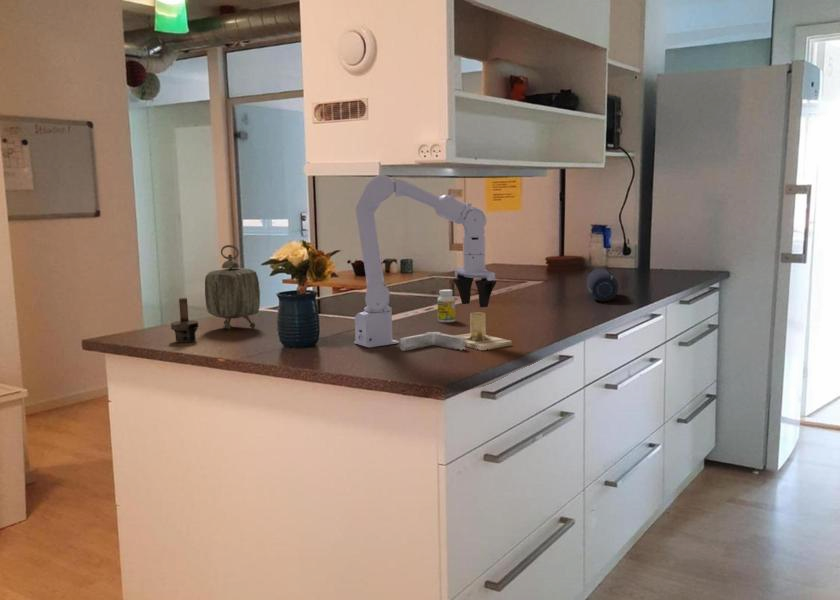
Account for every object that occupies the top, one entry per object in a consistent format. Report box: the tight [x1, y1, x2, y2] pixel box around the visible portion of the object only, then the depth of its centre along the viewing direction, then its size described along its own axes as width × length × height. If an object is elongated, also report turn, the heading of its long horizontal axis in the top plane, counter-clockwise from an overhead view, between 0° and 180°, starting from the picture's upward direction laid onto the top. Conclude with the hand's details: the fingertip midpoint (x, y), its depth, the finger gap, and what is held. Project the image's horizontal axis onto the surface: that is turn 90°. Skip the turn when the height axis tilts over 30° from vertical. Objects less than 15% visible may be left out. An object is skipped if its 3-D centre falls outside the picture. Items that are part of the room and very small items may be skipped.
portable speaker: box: [586, 267, 619, 303], centre depth 280 cm, size 25×10×10 cm, turn 171°
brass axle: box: [469, 311, 487, 342], centre depth 203 cm, size 4×4×8 cm
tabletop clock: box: [204, 244, 261, 331], centre depth 231 cm, size 14×9×25 cm, turn 59°
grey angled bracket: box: [399, 331, 466, 352], centre depth 200 cm, size 9×16×3 cm, turn 87°
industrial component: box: [170, 297, 199, 343], centre depth 214 cm, size 9×7×12 cm
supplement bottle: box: [437, 289, 456, 323], centre depth 237 cm, size 5×5×10 cm
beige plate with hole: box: [455, 332, 513, 351], centre depth 203 cm, size 15×10×1 cm, turn 34°
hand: (474, 305), depth 205 cm, fingers open, 7 cm apart
